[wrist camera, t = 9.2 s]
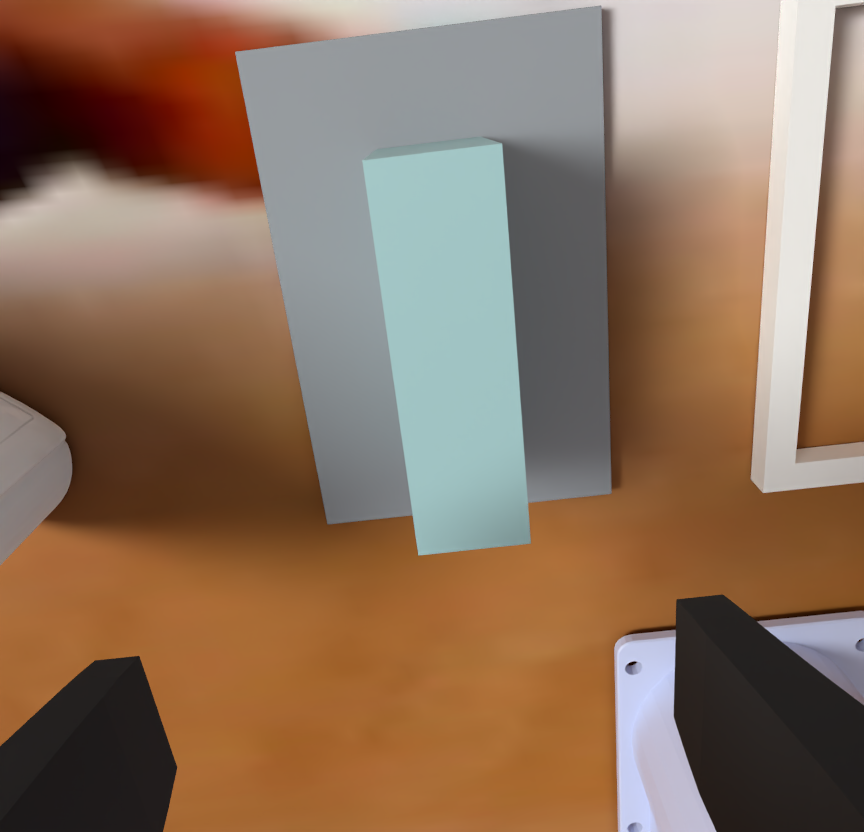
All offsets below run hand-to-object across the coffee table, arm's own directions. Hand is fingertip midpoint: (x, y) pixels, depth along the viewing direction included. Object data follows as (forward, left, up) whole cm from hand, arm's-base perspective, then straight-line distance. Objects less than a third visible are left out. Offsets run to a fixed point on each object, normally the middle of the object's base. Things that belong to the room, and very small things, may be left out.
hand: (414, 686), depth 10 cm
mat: (+3, -1, -10) cm, 11 cm away
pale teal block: (+2, -1, -10) cm, 10 cm away
